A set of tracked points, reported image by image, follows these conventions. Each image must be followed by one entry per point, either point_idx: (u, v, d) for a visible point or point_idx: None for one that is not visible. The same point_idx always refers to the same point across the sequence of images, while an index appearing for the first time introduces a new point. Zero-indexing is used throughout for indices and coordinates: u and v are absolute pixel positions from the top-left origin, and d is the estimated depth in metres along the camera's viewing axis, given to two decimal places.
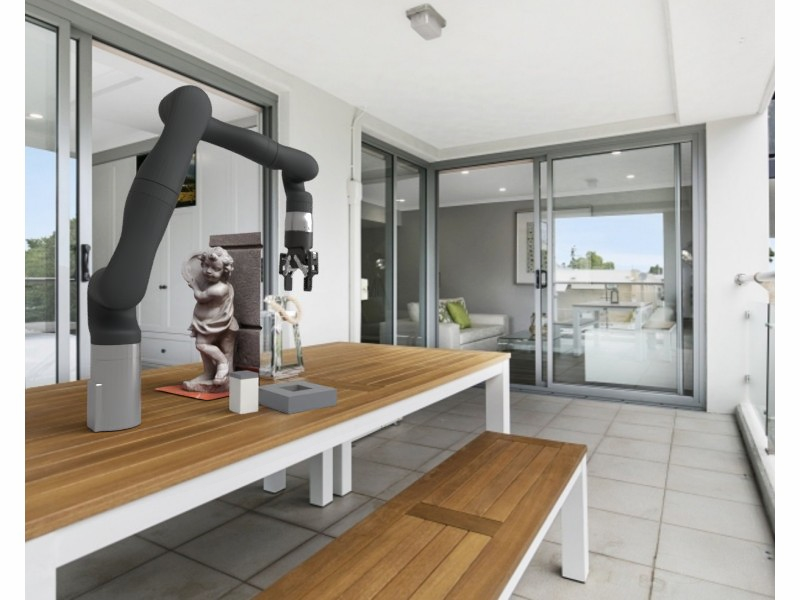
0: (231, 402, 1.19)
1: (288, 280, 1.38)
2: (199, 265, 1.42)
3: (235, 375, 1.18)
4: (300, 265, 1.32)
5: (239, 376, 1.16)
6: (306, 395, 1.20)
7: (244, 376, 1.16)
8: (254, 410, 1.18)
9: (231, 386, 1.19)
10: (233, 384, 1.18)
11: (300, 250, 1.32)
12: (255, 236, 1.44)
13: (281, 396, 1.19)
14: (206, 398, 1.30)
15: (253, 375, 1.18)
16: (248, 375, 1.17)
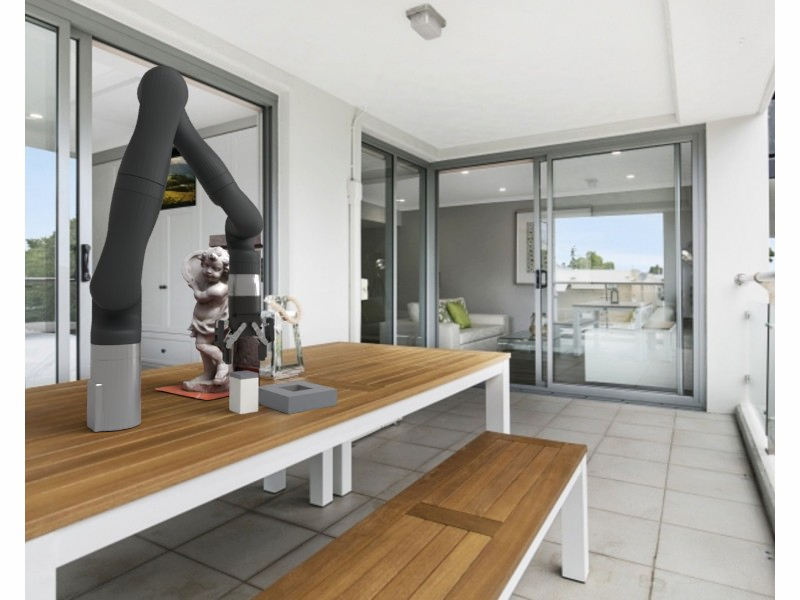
0: (231, 402, 1.19)
1: None
2: (199, 265, 1.42)
3: (235, 375, 1.18)
4: (261, 333, 1.20)
5: (239, 376, 1.16)
6: (306, 395, 1.20)
7: (244, 376, 1.16)
8: (254, 410, 1.18)
9: (231, 386, 1.19)
10: (233, 384, 1.18)
11: (257, 317, 1.20)
12: None
13: (281, 396, 1.19)
14: (206, 398, 1.30)
15: (253, 375, 1.18)
16: (248, 375, 1.17)
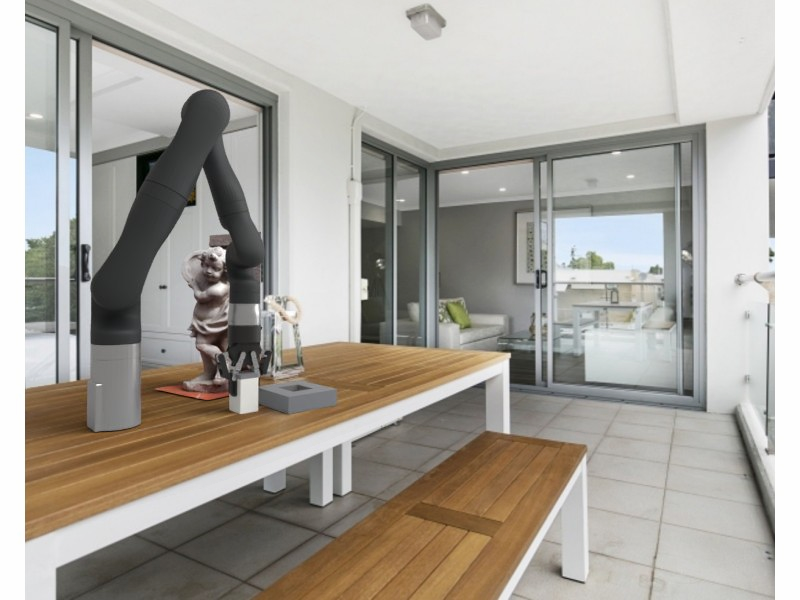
0: (231, 402, 1.19)
1: None
2: (199, 265, 1.42)
3: None
4: (256, 364, 1.20)
5: (239, 376, 1.16)
6: (306, 395, 1.20)
7: (244, 376, 1.16)
8: (254, 410, 1.18)
9: None
10: None
11: (256, 345, 1.20)
12: None
13: (281, 396, 1.19)
14: (206, 398, 1.30)
15: (253, 375, 1.18)
16: (248, 375, 1.17)
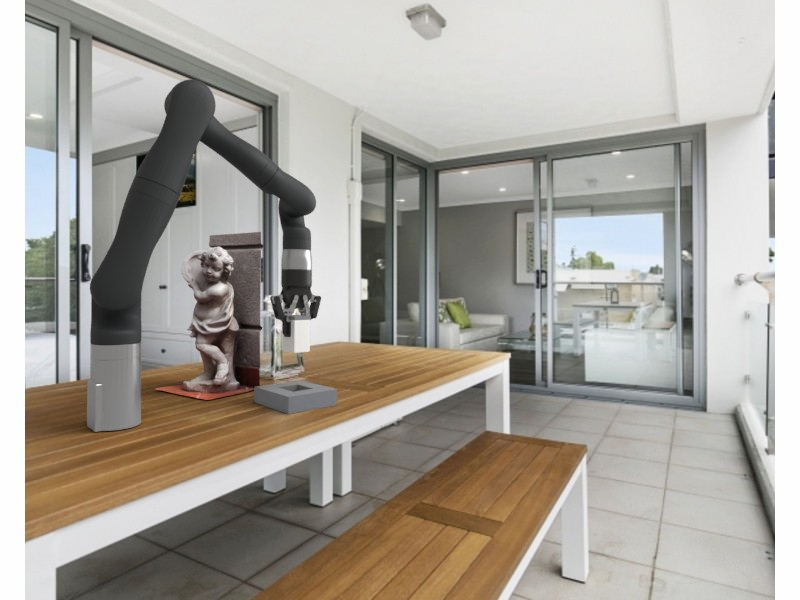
0: (284, 343, 1.26)
1: None
2: (199, 265, 1.42)
3: None
4: (308, 308, 1.27)
5: (293, 317, 1.24)
6: (306, 395, 1.20)
7: (297, 317, 1.24)
8: (306, 350, 1.26)
9: None
10: None
11: (307, 290, 1.28)
12: (255, 236, 1.44)
13: (281, 396, 1.19)
14: (206, 398, 1.30)
15: (305, 317, 1.25)
16: (301, 316, 1.25)
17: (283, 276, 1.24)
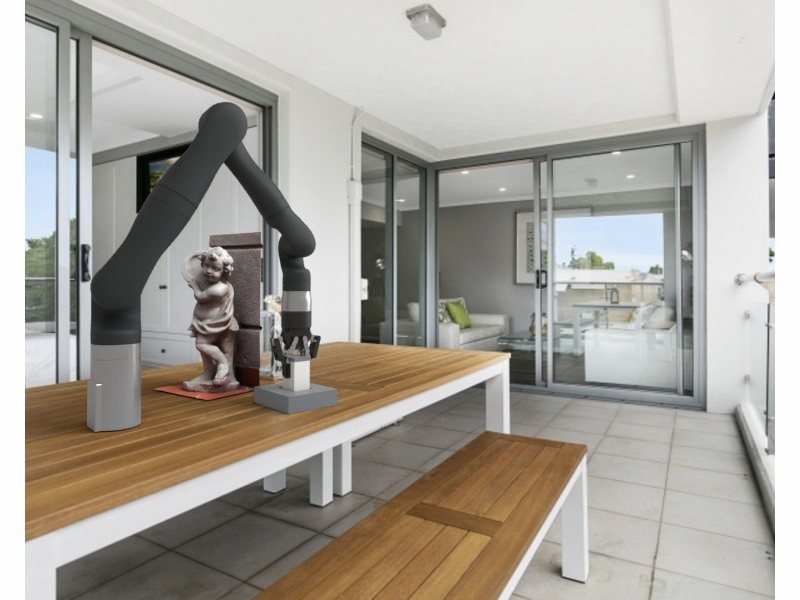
0: (284, 384, 1.27)
1: None
2: (199, 265, 1.42)
3: None
4: (307, 348, 1.27)
5: (293, 359, 1.24)
6: (306, 395, 1.20)
7: (297, 359, 1.24)
8: None
9: None
10: None
11: (307, 331, 1.28)
12: (255, 236, 1.44)
13: (281, 396, 1.19)
14: (206, 398, 1.30)
15: (305, 358, 1.26)
16: (301, 358, 1.25)
17: (283, 318, 1.24)
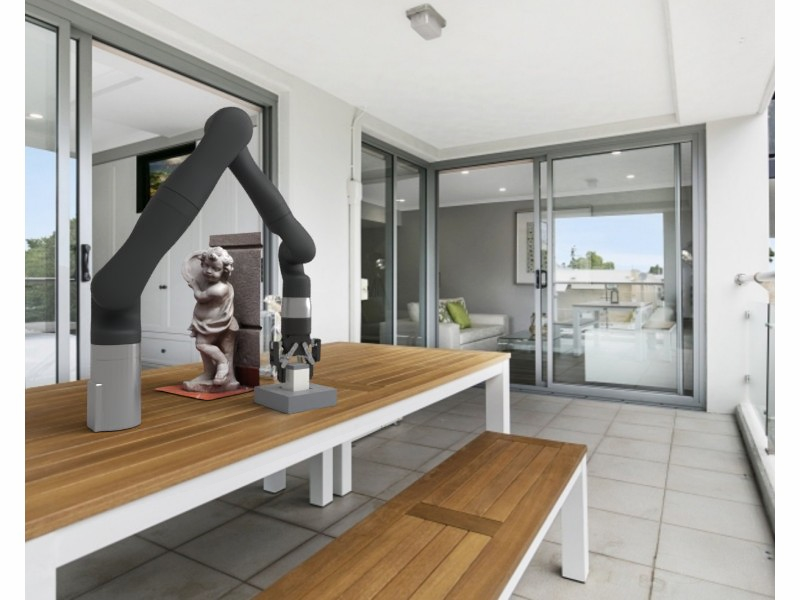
0: None
1: None
2: (199, 265, 1.42)
3: (288, 366, 1.25)
4: (309, 353, 1.28)
5: (292, 367, 1.24)
6: (306, 395, 1.20)
7: (297, 367, 1.24)
8: None
9: None
10: (286, 374, 1.26)
11: (307, 337, 1.28)
12: (255, 236, 1.44)
13: (281, 396, 1.19)
14: (206, 398, 1.30)
15: (304, 366, 1.26)
16: (300, 366, 1.25)
17: (283, 324, 1.24)
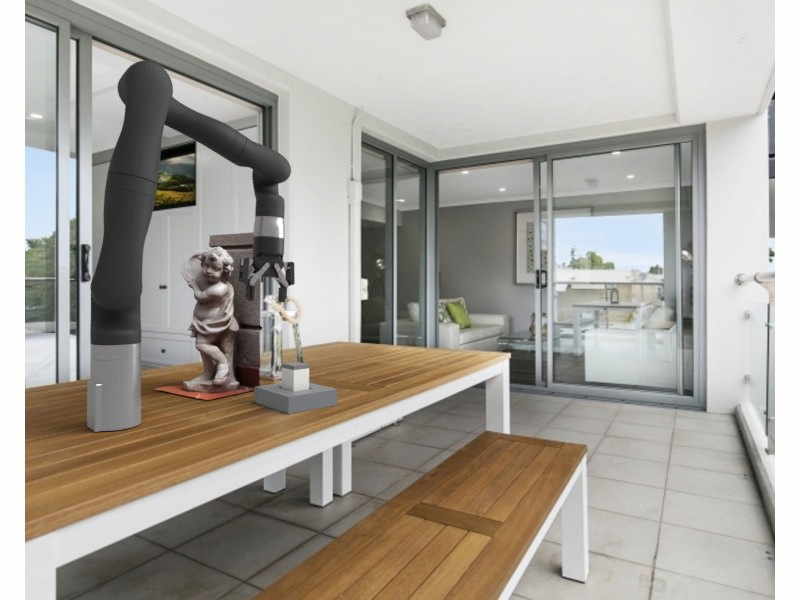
0: None
1: None
2: (199, 265, 1.42)
3: (288, 366, 1.25)
4: (282, 275, 1.26)
5: (292, 367, 1.24)
6: (306, 395, 1.20)
7: (297, 367, 1.24)
8: None
9: (283, 376, 1.27)
10: (286, 374, 1.26)
11: (279, 259, 1.26)
12: None
13: (281, 396, 1.19)
14: (206, 398, 1.30)
15: (304, 366, 1.26)
16: (300, 366, 1.25)
17: (254, 243, 1.23)
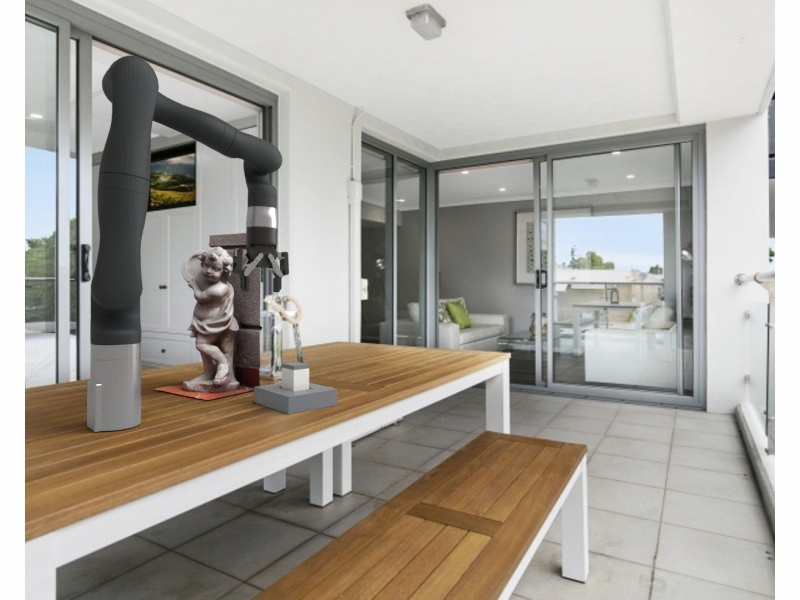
0: None
1: None
2: (199, 265, 1.42)
3: (288, 366, 1.25)
4: (276, 265, 1.26)
5: (292, 367, 1.24)
6: (306, 395, 1.20)
7: (297, 367, 1.24)
8: None
9: (283, 376, 1.27)
10: (286, 374, 1.26)
11: (273, 249, 1.26)
12: None
13: (281, 396, 1.19)
14: (206, 398, 1.30)
15: (304, 366, 1.26)
16: (300, 366, 1.25)
17: (247, 234, 1.22)
